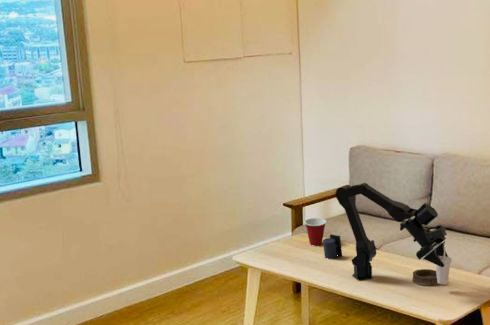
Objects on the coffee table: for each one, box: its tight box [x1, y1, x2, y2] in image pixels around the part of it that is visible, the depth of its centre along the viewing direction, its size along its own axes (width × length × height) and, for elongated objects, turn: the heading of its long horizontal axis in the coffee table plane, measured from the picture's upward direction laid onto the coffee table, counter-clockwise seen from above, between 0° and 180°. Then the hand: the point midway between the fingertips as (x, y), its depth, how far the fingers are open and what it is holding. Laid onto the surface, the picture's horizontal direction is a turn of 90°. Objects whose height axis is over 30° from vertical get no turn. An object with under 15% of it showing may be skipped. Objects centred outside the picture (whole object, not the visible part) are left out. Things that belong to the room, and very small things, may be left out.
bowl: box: [412, 268, 440, 287], centre depth 255 cm, size 12×12×3 cm
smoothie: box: [434, 246, 452, 285], centre depth 241 cm, size 6×6×14 cm
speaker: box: [322, 234, 343, 260], centre depth 289 cm, size 8×6×10 cm
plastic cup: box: [304, 217, 327, 246], centre depth 310 cm, size 11×11×12 cm
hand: (446, 264), depth 241 cm, fingers closed on smoothie, 6 cm apart
